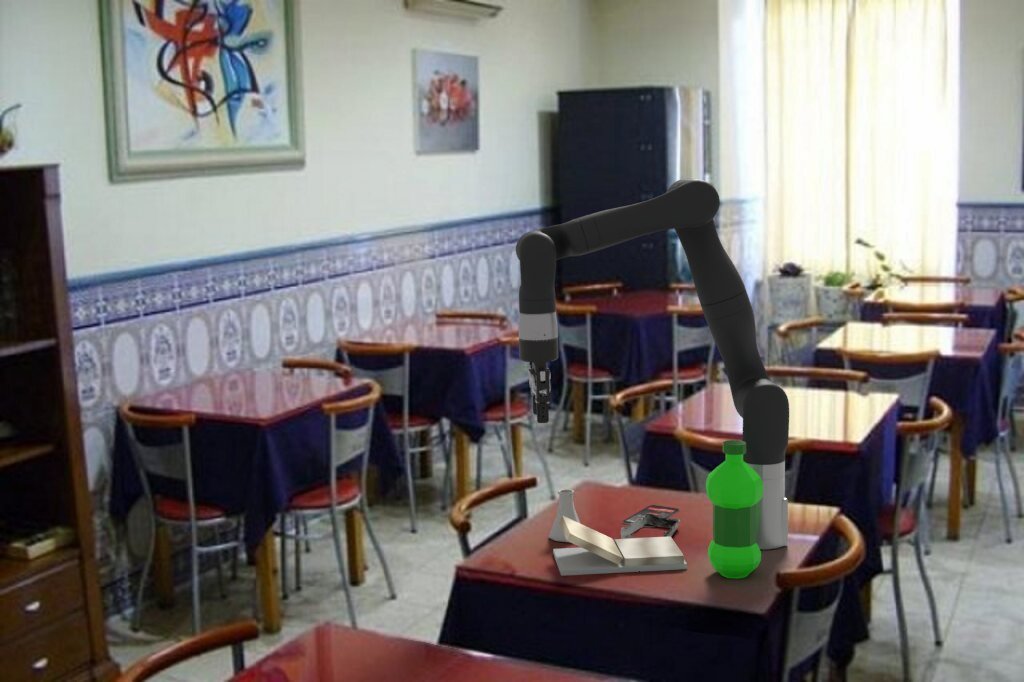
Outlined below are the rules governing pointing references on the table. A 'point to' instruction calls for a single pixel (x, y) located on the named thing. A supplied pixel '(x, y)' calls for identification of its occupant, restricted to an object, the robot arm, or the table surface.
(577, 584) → the table surface
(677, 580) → the table surface
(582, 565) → the underlay board
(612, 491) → the table surface
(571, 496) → the flask
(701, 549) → the table surface
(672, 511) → the smartphone
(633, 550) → the laid plank
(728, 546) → the plastic bottle
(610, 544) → the cream wavy square sheet
